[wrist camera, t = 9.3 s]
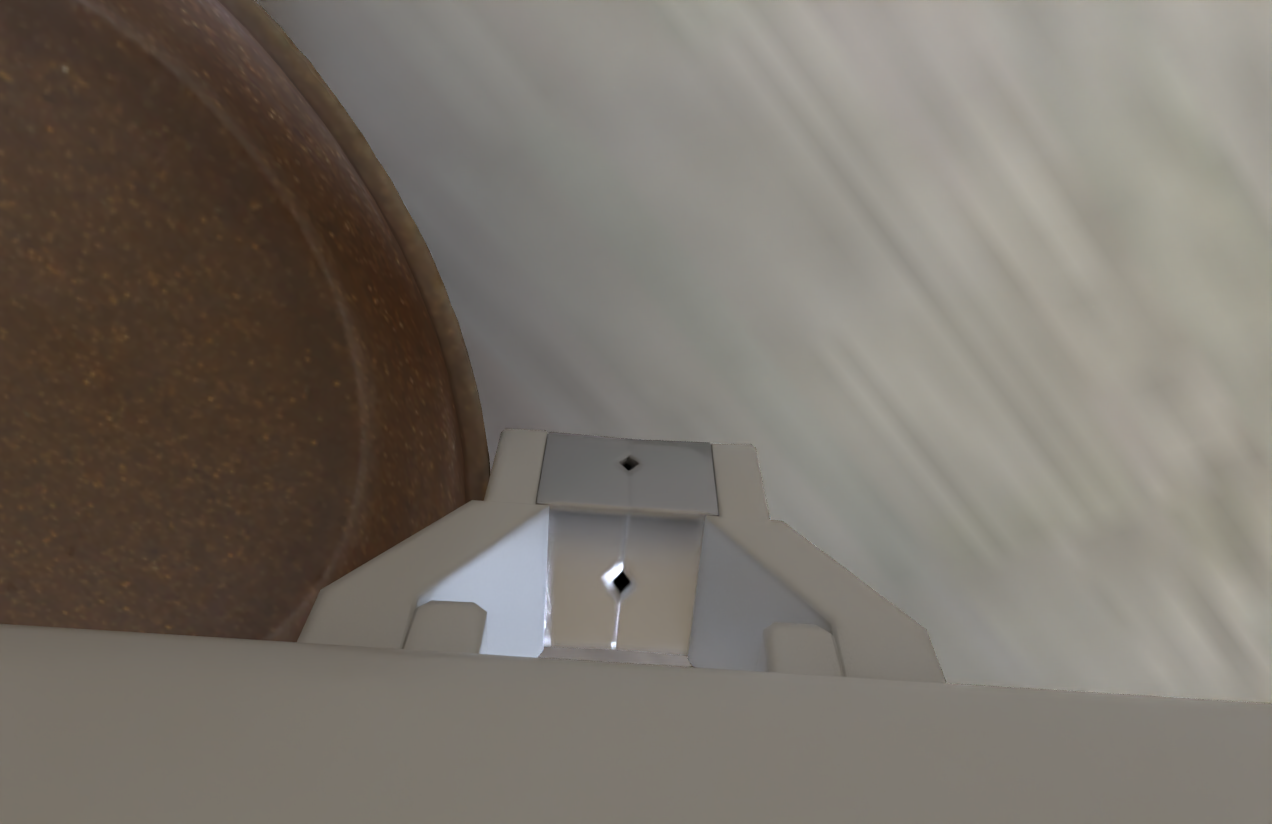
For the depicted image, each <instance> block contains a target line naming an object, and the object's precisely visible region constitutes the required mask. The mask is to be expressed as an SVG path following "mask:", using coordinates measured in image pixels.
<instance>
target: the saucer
mask: <svg viewBox="0 0 1272 824" xmlns="http://www.w3.org/2000/svg"><path fill="white" fill-rule="evenodd" d="M489 478H490V462H489V453H488V447H487V440H486V434H485V428H484V421H483V415H482V408H481V404H480V399H479V395H478V390H477V386H476V382H475V378H474V375H473V371H472V367H471V363H470V360H469V356H468V352H467V349H466V346H465V343H464V339H463V336H462V333H461V330H460V326H459V323H458V320H457V318H456V315H455V313H454V311H453V308H452V306H451V304H450V301H449V298H448V295H447V292H446V289H445V286H444V284H443V282H442V279H441V277H440V275H439V272H438V270H437V268H436V265H435V263H434V261H433V258H432V256H431V254H430V251H429V249H428V247H427V245H426V243H425V241H424V239H423V237H422V235H421V234H420V232H419V230H418V228H417V226H416V224H415V222H414V221H413V219H412V217H411V216H410V214H409V212H408V211H407V209H406V207H405V205H404V204H403V202H402V200H401V198H400V196H399V194H398V192H397V190H396V188H395V186H394V184H393V182H392V181H391V179H390V177H389V176H388V174H387V173H386V171H385V170H384V168H383V167H382V165H381V164H380V162H379V161H378V159H377V158H376V156H375V155H374V153H373V151H372V150H371V148H370V146H369V145H368V143H367V141H366V140H365V138H364V136H363V135H362V133H361V132H360V130H359V129H358V128H357V126H356V125H355V123H354V122H353V120H352V119H351V118H350V116H349V115H348V113H347V112H346V110H345V109H344V108H343V106H342V105H341V103H340V102H339V101H338V99H337V98H336V97H335V95H334V94H333V93H332V91H331V90H330V89H329V87H328V86H327V85H326V83H325V82H324V81H323V79H322V78H321V77H320V75H319V74H318V72H317V71H316V70H315V68H314V67H313V65H312V64H311V63H310V61H309V60H308V59H307V58H306V57H305V56H304V55H303V54H302V53H301V52H300V51H299V50H298V48H297V47H296V46H295V45H294V43H293V42H292V41H291V40H290V38H289V37H288V36H287V35H286V33H285V32H284V31H283V30H282V28H281V27H280V26H279V25H278V24H277V23H276V22H275V21H274V20H273V19H272V18H271V17H270V16H269V15H268V14H267V13H266V12H265V10H264V9H263V8H262V7H261V6H260V5H259V4H258V3H257V2H256V1H255V0H0V624H10V625H26V626H42V627H58V628H74V629H91V630H107V631H123V632H139V633H155V634H171V635H187V636H203V637H219V638H235V639H251V640H267V641H283V642H297V640H298V638H299V636H300V634H301V632H302V629H303V627H304V625H305V623H306V621H307V618H308V616H309V614H310V612H311V610H312V608H313V605H314V603H315V601H316V599H317V597H318V594H319V592H320V590H321V589H323V588H324V587H326V586H328V585H330V584H331V583H333V582H335V581H336V580H338V579H340V578H341V577H343V576H345V575H346V574H348V573H350V572H351V571H353V570H355V569H356V568H358V567H360V566H362V565H363V564H365V563H367V562H368V561H370V560H372V559H373V558H375V557H377V556H378V555H380V554H382V553H383V552H385V551H387V550H389V549H390V548H392V547H394V546H395V545H397V544H399V543H400V542H402V541H404V540H405V539H407V538H409V537H410V536H412V535H414V534H415V533H417V532H419V531H421V530H422V529H424V528H426V527H427V526H429V525H431V524H432V523H434V522H436V521H437V520H439V519H441V518H442V517H444V516H446V515H448V514H449V513H451V512H453V511H454V510H456V509H458V508H459V507H461V506H463V505H464V504H466V503H468V502H469V501H471V500H479V501H484V497H485V494H486V490H487V486H488V482H489Z"/></svg>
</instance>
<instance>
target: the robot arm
mask: <svg viewBox="0 0 1272 824" xmlns="http://www.w3.org/2000/svg"><path fill="white" fill-rule="evenodd" d="M544 647H563V648H591V649H616V650H627V651H639V652H650V653H661V654H672V655H683V656H688V660H689V662H690V663H691V664H692V666H693V667H682V666H666V665H650V664H634V663H618V662H602V661H586V660H570V659H554V658H538V656H539V655H540V654H541V653H542V652H543V649H544ZM0 824H1272V703H1257V702H1242V701H1226V700H1210V699H1194V698H1178V697H1162V696H1146V695H1130V694H1114V693H1098V692H1082V691H1066V690H1050V689H1034V688H1018V687H1002V686H986V685H970V684H954V683H946V680H945V678H944V675H943V672H942V669H941V667H940V664H939V661H938V659H937V656H936V653H935V650H934V648H933V645H932V642H931V640H930V637H929V634H928V631H927V629H925V628H924V627H923V626H921V625H920V624H919V623H917V622H916V621H915V620H913V619H912V618H911V617H909V616H908V615H907V614H905V613H904V612H903V611H901V610H900V609H899V608H897V607H896V606H895V605H893V604H892V603H891V602H889V601H888V600H887V599H885V598H884V597H883V596H881V595H880V594H879V593H877V592H876V591H875V590H873V589H872V588H871V587H869V586H868V585H867V584H865V583H864V582H863V581H861V580H860V579H859V578H858V577H856V576H855V575H854V574H852V573H851V572H850V571H848V570H847V569H846V568H844V567H843V566H842V565H840V564H839V563H838V562H836V561H835V560H834V559H832V558H831V557H830V556H828V555H827V554H826V553H824V552H823V551H822V550H820V549H819V548H818V547H816V546H815V545H814V544H812V543H811V542H810V541H808V540H807V539H806V538H804V537H803V536H802V535H800V534H799V533H798V532H796V531H795V530H794V529H792V528H791V527H790V526H788V525H787V524H786V523H784V522H783V521H778V520H770V515H769V510H768V505H767V500H766V495H765V490H764V485H763V480H762V475H761V470H760V465H759V460H758V455H757V450H756V447H754V446H753V445H752V444H714V443H708V442H686V441H663V440H641V439H628V438H617V437H605V436H594V435H582V434H571V433H559V432H549V433H547V432H546V430H525V429H504V430H503V431H502V432H501V435H500V439H499V443H498V447H497V451H496V455H495V458H494V462H493V466H492V470H491V474H490V478H489V482H488V486H487V490H486V494H485V497H484V501H479V500H471V501H469V502H468V503H466V504H464V505H463V506H461V507H459V508H458V509H456V510H454V511H453V512H451V513H449V514H448V515H446V516H444V517H442V518H441V519H439V520H437V521H436V522H434V523H432V524H431V525H429V526H427V527H426V528H424V529H422V530H421V531H419V532H417V533H415V534H414V535H412V536H410V537H409V538H407V539H405V540H404V541H402V542H400V543H399V544H397V545H395V546H394V547H392V548H390V549H389V550H387V551H385V552H383V553H382V554H380V555H378V556H377V557H375V558H373V559H372V560H370V561H368V562H367V563H365V564H363V565H362V566H360V567H358V568H356V569H355V570H353V571H351V572H350V573H348V574H346V575H345V576H343V577H341V578H340V579H338V580H336V581H335V582H333V583H331V584H330V585H328V586H326V587H324V588H323V589H321V590H320V592H319V594H318V597H317V599H316V601H315V603H314V605H313V608H312V610H311V612H310V614H309V616H308V618H307V621H306V623H305V625H304V627H303V629H302V632H301V634H300V636H299V638H298V640H297V642H283V641H267V640H251V639H235V638H219V637H203V636H187V635H171V634H155V633H139V632H123V631H107V630H91V629H74V628H58V627H42V626H26V625H10V624H0Z"/></svg>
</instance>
